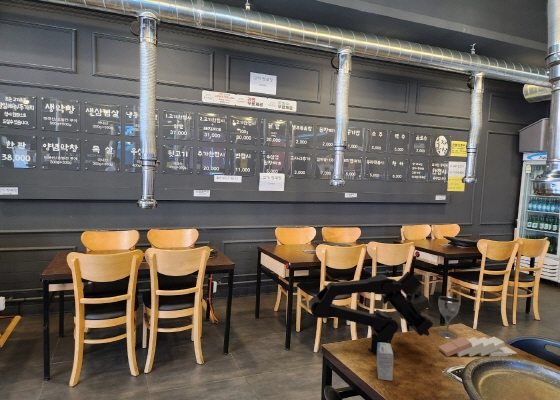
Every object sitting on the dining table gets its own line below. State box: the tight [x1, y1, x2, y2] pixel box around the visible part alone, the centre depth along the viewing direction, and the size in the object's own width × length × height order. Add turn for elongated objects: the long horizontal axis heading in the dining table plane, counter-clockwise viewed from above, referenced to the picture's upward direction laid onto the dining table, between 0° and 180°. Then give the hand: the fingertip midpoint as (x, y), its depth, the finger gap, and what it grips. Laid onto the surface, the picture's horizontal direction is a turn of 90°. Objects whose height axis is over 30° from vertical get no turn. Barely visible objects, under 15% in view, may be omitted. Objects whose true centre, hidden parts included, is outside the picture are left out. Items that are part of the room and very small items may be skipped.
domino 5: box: [487, 346, 518, 357], centre depth 132 cm, size 2×5×10 cm
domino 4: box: [477, 336, 506, 357], centre depth 132 cm, size 2×5×10 cm
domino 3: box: [466, 336, 495, 358], centre depth 131 cm, size 2×5×10 cm
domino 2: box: [454, 336, 484, 358], centre depth 131 cm, size 2×5×10 cm
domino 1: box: [438, 336, 472, 357], centre depth 130 cm, size 2×5×10 cm
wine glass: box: [437, 295, 461, 339], centre depth 147 cm, size 8×8×15 cm
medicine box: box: [375, 342, 394, 382], centre depth 114 cm, size 8×4×9 cm, turn 168°
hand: (428, 334), depth 130 cm, fingers closed
